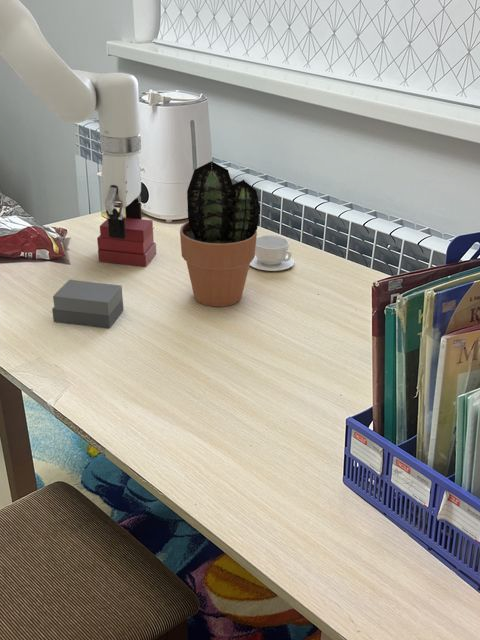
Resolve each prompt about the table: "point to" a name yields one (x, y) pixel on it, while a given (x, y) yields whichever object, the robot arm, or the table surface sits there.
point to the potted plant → (219, 235)
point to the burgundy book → (131, 229)
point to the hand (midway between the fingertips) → (125, 229)
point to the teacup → (272, 253)
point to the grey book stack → (88, 303)
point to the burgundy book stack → (126, 251)
